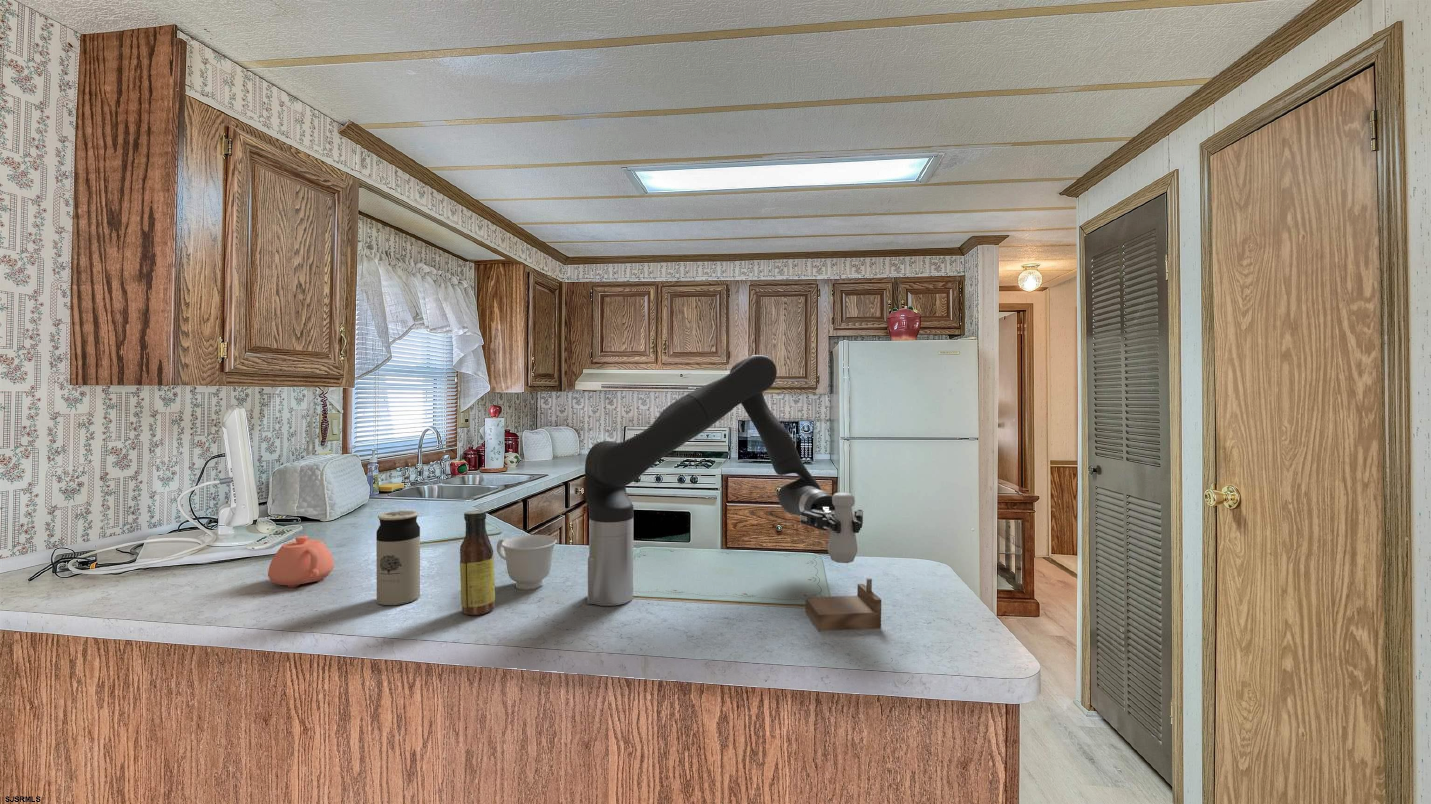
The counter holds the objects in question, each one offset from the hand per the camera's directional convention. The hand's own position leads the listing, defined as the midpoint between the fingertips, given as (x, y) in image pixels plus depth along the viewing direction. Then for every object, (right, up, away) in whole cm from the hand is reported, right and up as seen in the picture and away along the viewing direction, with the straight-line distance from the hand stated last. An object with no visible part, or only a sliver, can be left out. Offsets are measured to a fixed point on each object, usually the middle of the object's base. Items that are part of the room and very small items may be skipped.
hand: (848, 527), depth 109 cm
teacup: (-68, -18, +22) cm, 74 cm away
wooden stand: (-1, -19, +3) cm, 19 cm away
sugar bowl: (-119, -17, +22) cm, 122 cm away
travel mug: (-91, -18, +12) cm, 94 cm away
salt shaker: (0, -7, +3) cm, 8 cm away
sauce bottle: (-72, -18, +6) cm, 75 cm away
